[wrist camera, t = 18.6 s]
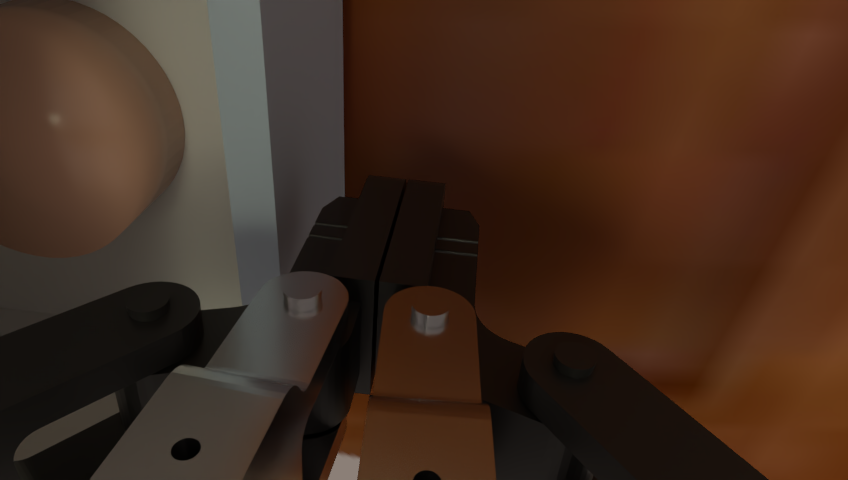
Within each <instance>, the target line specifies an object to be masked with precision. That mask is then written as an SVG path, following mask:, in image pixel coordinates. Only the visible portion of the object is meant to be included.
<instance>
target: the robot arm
mask: <svg viewBox="0 0 848 480" xmlns="http://www.w3.org/2000/svg"><path fill="white" fill-rule="evenodd" d="M444 195H445V184H444V183H436V182H427V181H418V180H408V183H407V186H406V179H399V178H391V177H382V176H373V175H369V176H368V178H367V180H366V183H365V185H364V187H363V190H362V192H361V195H360V197H359V199H358V198H349V197H341V196H339V197H338V198H336V199H335V200H333V201H332V202H330V203H329V204H327V205H326V206H324V207H323V208H322V210H321V212H320V213H319V215H318V217H317V219H316V221H315V225H313V227H312V229H311V231H310V233H309V237H307V239H306V241H305V243H304V245H303V247H302V249H301V251H300V253H299V255H298V257H297V259H296V261H295V263H294V265H293V267H292V269H291V271H290V273H286V274H283V275H280V276H277V277H275V278H273V279H271V280H269V281H268V282H266V283H265V284H264V285H263V286H262V287H261V288H260V289H259V291H258V292H257V294H256V295H255V296H254V298H253V299H252V301H251V302H250V304H249V305H244V306H238V307H230V308H218V309H207V310H201V305H200V299H199V297H198V295H197V294H196V293H195V291H193V290H192V289H191V288H189V287H187V286H185V285H182V284H178V283H173V282H163V281H160V282H148V283H142V284H138V285H134V286H131V287H128V288H125V289H123V290H120V291H118V292H115V293H112V294H110V295H107V296H105V297H102V298H99V299H97V300H94V301H92V302H89V303H86V304H84V305H81V306H78V307H76V308H73V309H71V310H68V311H65V312H63V313H60V314H58V315H55V316H52V317H50V318H47V319H45V320H42V321H39V322H37V323H34V324H32V325H29V326H26V327H24V328H21V329H19V330H16V331H13V332H11V333H8V334H5V335H3V336H0V480H328V477H329V475H330V472H331V469H332V466H333V464H334V461H335V459H336V456H337V453H338V451H339V448H340V445H341V442H342V440H343V437H344V434H345V431H346V425H347V414H348V412H349V409H350V406H351V403H352V399H353V395H354V393H362V394H369V395H370V392H371V388H372V384H373V380H374V376H375V380H374V387H373V395H370V397H369V401H368V407H367V414H366V421H365V429H364V436H363V443H362V450H361V457H360V464H359V471H358V479H357V480H768V479H767V478H766V477H765V476H764V475H762V474H761V473H760V472H759V471H757V470H756V469H755V468H754V467H752V466H751V465H750V464H749V463H748V462H746V461H745V460H744V459H743V458H741V457H740V456H739V455H738V454H736V453H735V452H734V451H733V450H732V449H730V448H729V447H728V446H727V445H725V444H724V443H723V442H722V441H721V440H719V439H718V438H717V437H716V436H714V435H713V434H712V433H711V432H709V431H708V430H707V429H706V428H705V427H703V426H702V425H701V424H700V423H698V422H697V421H696V420H695V419H694V418H692V417H691V416H690V415H689V414H687V413H686V412H685V411H684V410H682V409H681V408H680V407H679V406H678V405H676V404H675V403H674V402H673V401H671V400H670V399H669V398H668V397H667V396H665V395H664V394H663V393H662V392H660V391H659V390H658V389H657V388H655V387H654V386H653V385H652V384H651V383H649V382H648V381H647V380H646V379H644V378H643V377H642V376H641V375H640V374H638V373H637V372H636V371H635V370H633V369H632V368H631V367H630V366H628V365H627V364H626V363H625V362H624V361H622V360H621V359H620V358H619V357H617V356H616V355H615V354H614V353H613V352H611V351H610V350H609V349H607V348H606V347H605V346H603V345H602V344H600V343H598V342H597V341H595V340H592V339H590V338H588V337H585V336H582V335H578V334H573V333H566V332H553V333H547V334H543V335H540V336H538V337H536V338H534V339H533V340H532V341H530V342H529V343H528V345H527V346H526V347H523V346H521V345H518V344H515V343H512V342H510V341H507V340H505V339H503V338H501V337H499V336H497V335H495V334H494V333H492V332H491V331H490V330H488V329H487V328H486V327H485V326H484V325H483V324H482V323H481V321H480V320H479V318H478V317H477V315H476V312H475V306H474V303H475V287H476V270H477V254H478V238H479V225H478V223H477V222H476V220H475V219H474V218H473V216H472V215H471V213H470V212H469V211H463V210H454V209H446V208H443V205H444ZM114 392H115V395H116V399H117V403H118V407H119V411H120V412H118V413H116V414H114V415H112V416H110V417H108V418H106V419H104V420H102V421H100V422H98V423H96V424H95V425H93V426H91V427H89V428H87V429H85V430H83V431H81V432H79V433H77V434H75V435H73V436H71V437H69V438H67V439H65V440H63V441H61V442H59V443H57V444H55V445H53V446H51V447H49V448H47V449H45V450H43V451H41V452H39V453H37V454H35V455H33V456H31V457H29V458H26V459H23V460H19V461H14V454H15V452H16V449H17V448H18V446H19V445H20V443H21V442H22V441H23V440H24V439H25V438H26V437H27V436H28V435H30V434H31V433H33V432H34V431H36V430H38V429H40V428H42V427H44V426H46V425H48V424H50V423H52V422H54V421H56V420H58V419H60V418H62V417H64V416H67V415H69V414H71V413H73V412H75V411H77V410H79V409H81V408H83V407H85V406H87V405H89V404H91V403H93V402H96V401H98V400H100V399H102V398H104V397H106V396H108V395H110V394H112V393H114Z"/></svg>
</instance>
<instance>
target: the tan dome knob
mask: <svg viewBox="0 0 848 480" xmlns="http://www.w3.org/2000/svg"><path fill="white" fill-rule="evenodd" d="M184 147H185V129H184V121H183V116H182V112H181V108H180V104H179V101H178V99H177V96H176V93H175V91H174V89H173V87H172V85H171V83H170V81H169V79H168V77H167V75H166V74H165V72H164V71H163V69H162V68H161V66H160V65H159V63H158V62H157V60H156V59H155V58H154V57H153V55H152V54H151V53H150V52H149V50H148V49H147V48H146V47H145V46H144V45H143V44H142V43H141V42H140V41H139V40H138V39H137V38H136V37H135V36H134V35H133V34H131V33H130V32H129V31H128V30H126V29H125V28H124V27H123V26H122V25H120V24H119V23H117V22H116V21H114V20H113V19H111V18H110V17H108V16H106V15H105V14H103V13H101V12H99V11H97V10H95V9H93V8H91V7H88V6H86V5H83V4H80V3H78V2H75V1H71V0H12V1H8V2H5V3H1V4H0V245H2V246H5V247H7V248H10V249H13V250H16V251H19V252H22V253H26V254H30V255H35V256H41V257H49V258H68V257H76V256H81V255H85V254H89V253H92V252H94V251H97V250H99V249H101V248H103V247H104V246H106V245H108V244H109V243H111V242H112V241H113V240H114V239H115V238H116V237H118V236H119V235H120V234H121V233H122V232H123V231H124V230H125V229H126V228H127V227H128V226H129V225H130V224H131V223H132V222H133V221H134V220H135V219H136V218H137V217H138V216H139V215H140V214H141V213H142V212H143V211H144V210H145V209H146V208H147V207H148V206H149V205H150V204H152V203H153V202H154V201H155V200H156V199H157V198H158V197H159V196H160V195H161V194H162V193H163V192H164V191H165V190H166V189H167V188H168V186H169V185H170V184H171V182H172V181H173V180H174V178H175V176H176V174H177V172H178V170H179V168H180V165H181V162H182V159H183V154H184Z"/></svg>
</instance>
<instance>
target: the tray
mask: <svg viewBox="0 0 848 480" xmlns="http://www.w3.org/2000/svg"><path fill="white" fill-rule="evenodd" d="M8 1H12V0H0V4H1V3H5V2H8ZM71 1H75V2H78V3H80V4H83V5H86V6H88V7H91V8H93V9H95V10H97V11H99V12H101V13H103V14H105V15H106V16H108V17H110V18H111V19H113V20H114V21H116V22H117V23H119V24H120V25H122V26H123V27H124V28H125V29H126V30H128V31H129V32H130V33H131V34H133V35H134V36H135V37H136V38H137V39H138V40H139V41H140V42H141V43H142V44H143V45H144V46H145V47H146V48H147V49H148V50H149V52H150V53H151V54H152V55H153V57H154V58H155V59H156V60H157V62H158V63H159V65H160V66H161V68H162V69H163V71H164V72H165V74H166V75H167V77H168V79H169V81H170V83H171V85H172V87H173V89H174V91H175V93H176V96H177V99H178V101H179V104H180V108H181V112H182V116H183V121H184V129H185V147H184V154H183V159H182V162H181V165H180V168H179V170H178V172H177V174H176V176H175V178H174V180H173V181H172V182H171V184H170V185H169V186H168V188H167V189H166V190H165V191H164V192H163V193H162V194H161V195H160V196H159V197H158V198H157V199H156V200H155V201H154V202H153V203H152V204H150V205H149V206H148V207H147V208H146V209H145V210H144V211H143V212H142V213H141V214H140V215H139V216H138V217H137V218H136V219H135V220H134V221H133V222H132V223H131V224H130V225H129V226H128V227H127V228H126V229H125V230H124V231H123V232H122V233H121V234H120V235H119V236H118V237H116V238H115V239H114V240H113V241H112V242H111V243H109V244H108V245H106V246H104V247H103V248H101V249H99V250H97V251H94V252H92V253H89V254H85V255H81V256H76V257H68V258H49V257H41V256H35V255H30V254H26V253H22V252H19V251H16V250H13V249H10V248H7V247H5V246H2V245H0V336H3V335H5V334H8V333H11V332H13V331H16V330H19V329H21V328H24V327H26V326H29V325H32V324H34V323H37V322H39V321H42V320H45V319H47V318H50V317H52V316H55V315H58V314H60V313H63V312H65V311H68V310H71V309H73V308H76V307H78V306H81V305H84V304H86V303H89V302H92V301H94V300H97V299H99V298H102V297H105V296H107V295H110V294H112V293H115V292H118V291H120V290H123V289H125V288H128V287H131V286H134V285H138V284H142V283H148V282H160V281H163V282H173V283H178V284H182V285H185V286H187V287H189V288H191V289H192V290H193V291H195V293H196V294H197V295H198V297H199V299H200V305H201V310H207V309H218V308H230V307H238V306H244V305H249V304H250V302H251V301H252V299H253V298H254V296H255V295H256V294H257V292H258V291H259V289H260V288H261V287H262V286H263V285H264V284H265V283H266V282H268V281H269V280H271V279H273V278H275V277H277V276H280V275H283V274H286V273H290V271H291V269H292V267H293V265H294V263H295V261H296V259H297V257H298V255H299V253H300V251H301V249H302V247H303V245H304V243H305V241H306V239H307V237H309V233H310V231H311V229H312V227H313V225H315V221H316V219H317V217H318V215H319V213H320V212H321V210H322V208H323V207H324V206H326V205H327V204H329V203H330V202H332V201H333V200H335V199H336V198H338V197H339V196H341V197H345V175H344V84H343V0H71Z"/></svg>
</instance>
